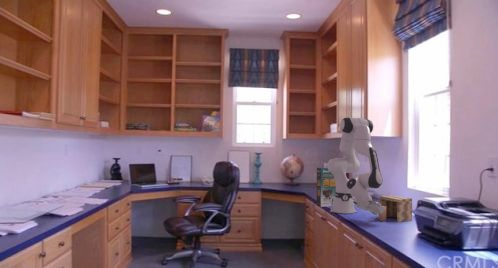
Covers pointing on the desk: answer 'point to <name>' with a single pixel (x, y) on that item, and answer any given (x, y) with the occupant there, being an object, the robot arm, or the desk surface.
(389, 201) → the wooden shelf
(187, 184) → the desk surface
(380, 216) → the peach rounded capsule
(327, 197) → the cake mix box
